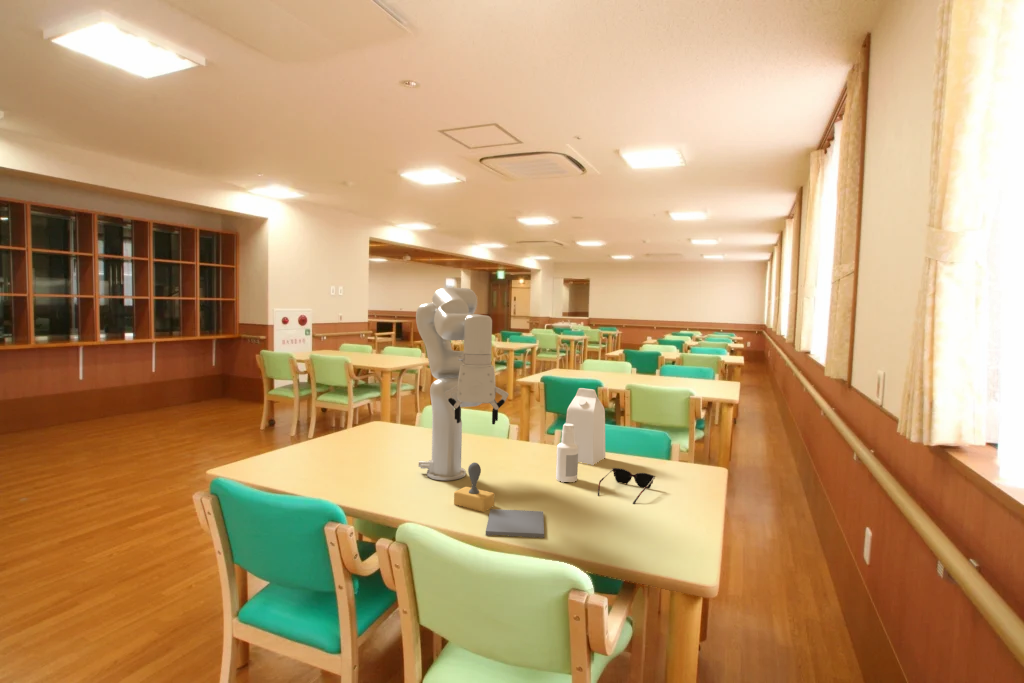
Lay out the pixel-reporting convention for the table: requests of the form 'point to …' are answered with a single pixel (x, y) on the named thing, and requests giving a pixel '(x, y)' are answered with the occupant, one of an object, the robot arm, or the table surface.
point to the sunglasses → (626, 476)
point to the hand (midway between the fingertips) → (476, 422)
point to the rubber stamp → (474, 493)
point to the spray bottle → (567, 456)
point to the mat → (515, 523)
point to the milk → (588, 425)
